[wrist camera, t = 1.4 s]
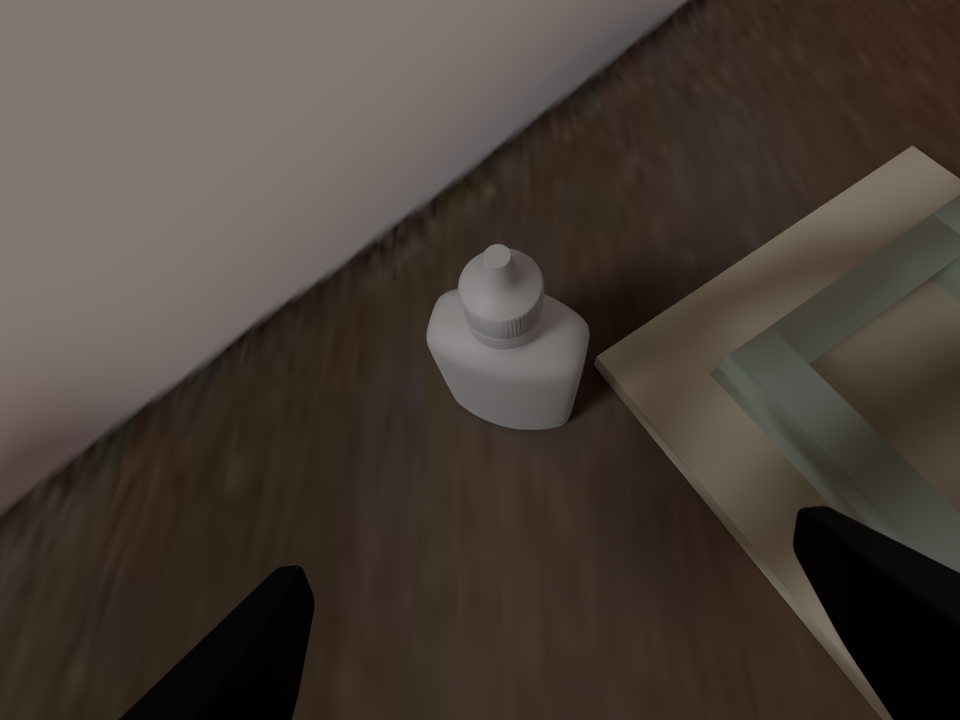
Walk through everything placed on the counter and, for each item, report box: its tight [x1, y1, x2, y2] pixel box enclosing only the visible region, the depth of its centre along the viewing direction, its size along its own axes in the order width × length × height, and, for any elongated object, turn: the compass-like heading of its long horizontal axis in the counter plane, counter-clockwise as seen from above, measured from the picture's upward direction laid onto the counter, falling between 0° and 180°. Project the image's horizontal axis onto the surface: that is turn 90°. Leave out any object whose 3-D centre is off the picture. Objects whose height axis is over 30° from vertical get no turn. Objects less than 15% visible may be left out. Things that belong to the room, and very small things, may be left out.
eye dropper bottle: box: [427, 244, 589, 430], centre depth 18 cm, size 4×6×12 cm
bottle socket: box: [594, 146, 960, 720], centre depth 19 cm, size 20×20×4 cm
